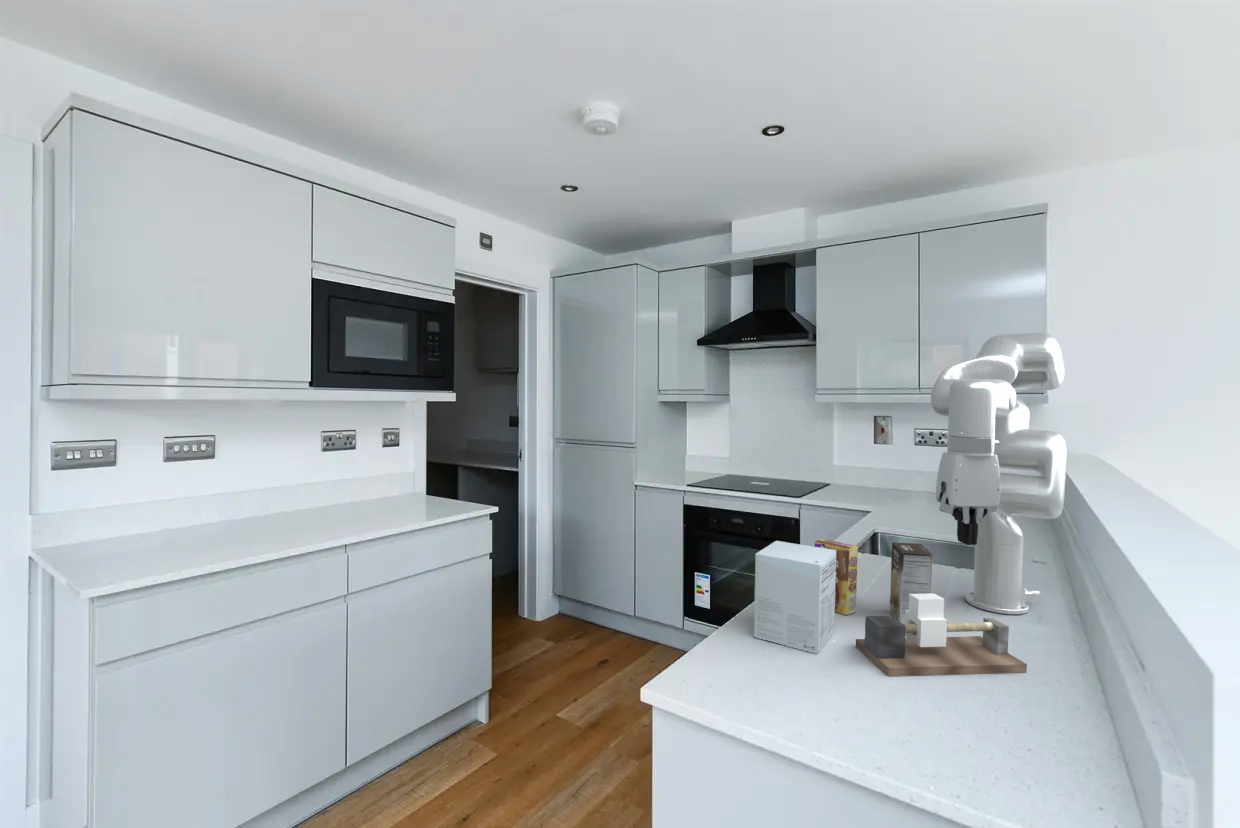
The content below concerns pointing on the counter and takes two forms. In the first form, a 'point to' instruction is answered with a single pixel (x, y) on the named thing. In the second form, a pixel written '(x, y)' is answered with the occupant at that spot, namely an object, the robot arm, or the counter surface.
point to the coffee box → (908, 576)
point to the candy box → (843, 574)
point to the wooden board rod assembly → (938, 649)
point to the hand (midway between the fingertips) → (967, 542)
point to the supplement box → (795, 595)
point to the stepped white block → (927, 620)
